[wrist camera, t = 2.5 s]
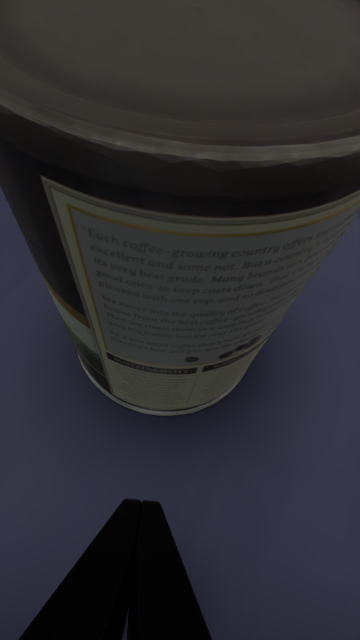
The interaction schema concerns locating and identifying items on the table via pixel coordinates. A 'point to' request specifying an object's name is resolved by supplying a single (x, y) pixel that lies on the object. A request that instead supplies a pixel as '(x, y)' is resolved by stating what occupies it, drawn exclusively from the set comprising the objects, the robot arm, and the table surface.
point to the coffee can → (178, 176)
